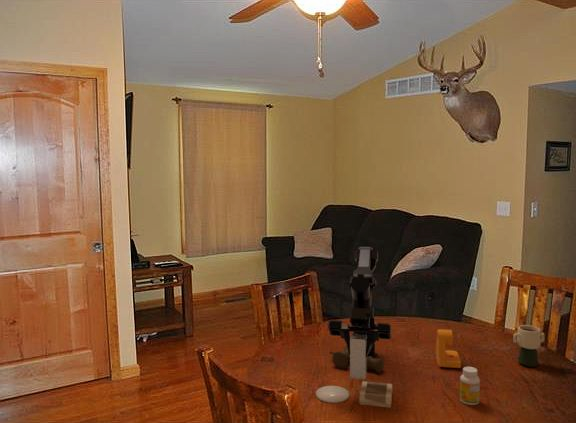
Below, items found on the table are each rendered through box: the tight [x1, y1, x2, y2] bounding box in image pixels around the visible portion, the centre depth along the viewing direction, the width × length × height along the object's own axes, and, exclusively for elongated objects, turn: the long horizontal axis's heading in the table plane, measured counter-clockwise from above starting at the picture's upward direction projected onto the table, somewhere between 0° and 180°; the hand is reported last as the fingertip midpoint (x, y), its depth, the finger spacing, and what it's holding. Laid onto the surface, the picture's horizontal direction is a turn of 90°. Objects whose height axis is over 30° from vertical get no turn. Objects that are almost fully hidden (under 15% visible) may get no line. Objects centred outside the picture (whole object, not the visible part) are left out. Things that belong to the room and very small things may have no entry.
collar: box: [359, 380, 393, 408], centre depth 142 cm, size 9×9×3 cm
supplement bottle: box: [459, 366, 481, 406], centre depth 140 cm, size 5×5×10 cm
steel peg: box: [349, 333, 368, 380], centre depth 143 cm, size 4×4×12 cm
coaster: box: [315, 385, 350, 404], centre depth 145 cm, size 10×10×1 cm
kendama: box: [329, 345, 385, 374], centre depth 167 cm, size 6×10×20 cm
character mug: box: [512, 324, 545, 368], centre depth 165 cm, size 11×7×13 cm, turn 92°
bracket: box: [435, 328, 462, 369], centre depth 167 cm, size 11×7×12 cm, turn 169°
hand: (357, 355), depth 141 cm, fingers closed on steel peg, 4 cm apart
